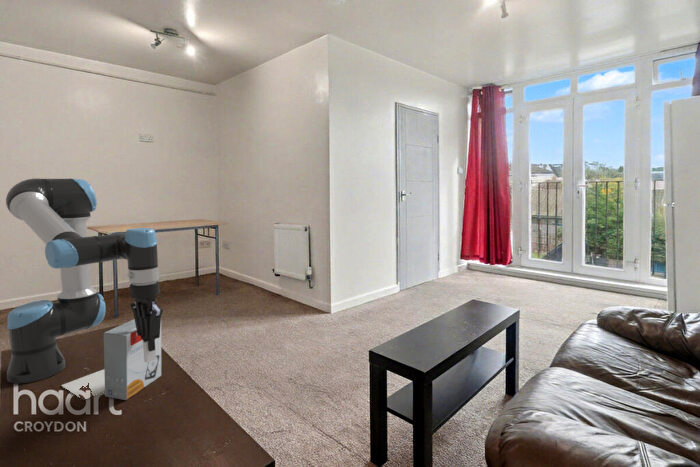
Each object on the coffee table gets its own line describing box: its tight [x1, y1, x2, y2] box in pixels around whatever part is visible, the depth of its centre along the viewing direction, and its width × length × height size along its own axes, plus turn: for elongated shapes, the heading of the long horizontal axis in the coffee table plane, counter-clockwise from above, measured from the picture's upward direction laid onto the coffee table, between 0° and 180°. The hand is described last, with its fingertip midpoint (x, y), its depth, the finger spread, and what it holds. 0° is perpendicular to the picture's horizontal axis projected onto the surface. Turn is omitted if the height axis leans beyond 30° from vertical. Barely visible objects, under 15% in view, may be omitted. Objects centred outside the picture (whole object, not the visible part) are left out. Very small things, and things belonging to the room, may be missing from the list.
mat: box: [61, 368, 105, 399], centre depth 120 cm, size 15×15×1 cm
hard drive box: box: [103, 318, 162, 401], centre depth 117 cm, size 16×8×20 cm, turn 169°
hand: (150, 360), depth 111 cm, fingers closed
